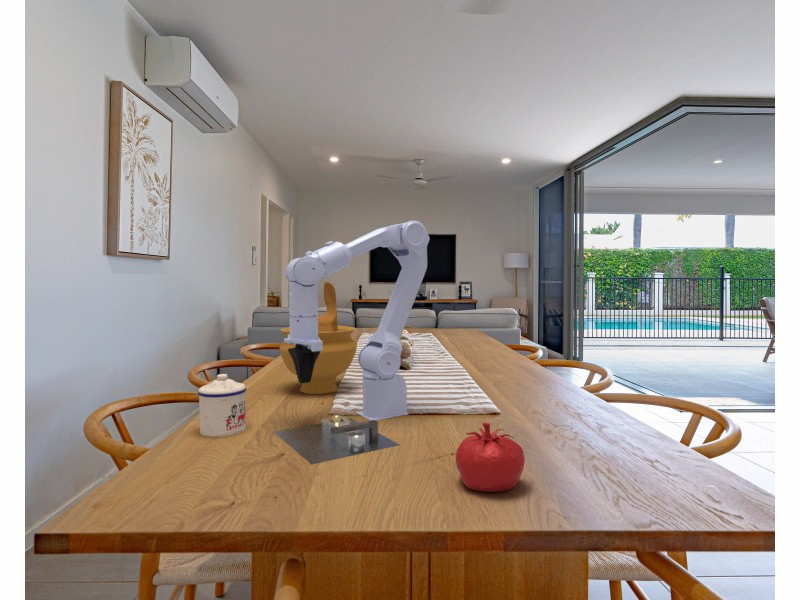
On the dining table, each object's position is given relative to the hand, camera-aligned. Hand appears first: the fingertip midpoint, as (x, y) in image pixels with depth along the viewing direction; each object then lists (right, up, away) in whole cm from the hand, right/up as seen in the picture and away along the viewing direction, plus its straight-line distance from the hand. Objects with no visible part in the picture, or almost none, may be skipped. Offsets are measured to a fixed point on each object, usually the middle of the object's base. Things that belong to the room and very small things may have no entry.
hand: (304, 382), depth 99 cm
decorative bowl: (-3, -8, +35) cm, 36 cm away
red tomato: (+33, -11, -27) cm, 44 cm away
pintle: (+7, -10, -6) cm, 13 cm away
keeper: (+12, -10, -12) cm, 20 cm away
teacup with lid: (-16, -10, -1) cm, 18 cm away
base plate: (+7, -10, -8) cm, 15 cm away
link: (+9, -9, -10) cm, 16 cm away
